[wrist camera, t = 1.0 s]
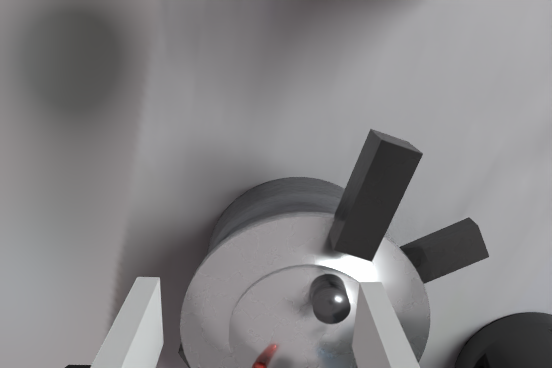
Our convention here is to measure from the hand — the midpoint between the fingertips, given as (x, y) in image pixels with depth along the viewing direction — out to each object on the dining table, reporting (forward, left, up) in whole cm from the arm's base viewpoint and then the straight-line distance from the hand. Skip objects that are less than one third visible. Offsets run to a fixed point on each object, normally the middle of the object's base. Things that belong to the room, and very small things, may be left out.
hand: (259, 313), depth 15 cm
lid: (-12, +1, -17) cm, 20 cm away
